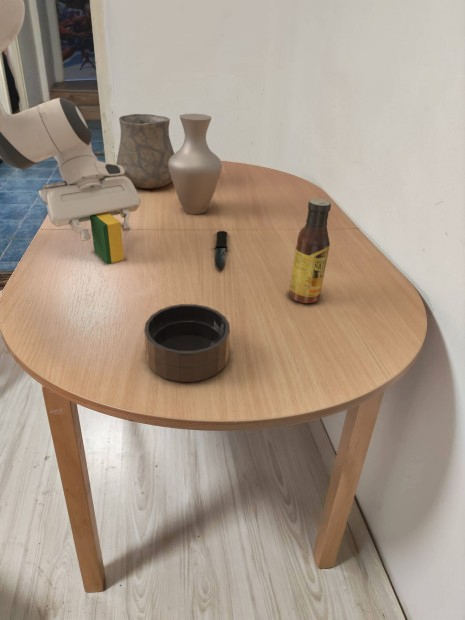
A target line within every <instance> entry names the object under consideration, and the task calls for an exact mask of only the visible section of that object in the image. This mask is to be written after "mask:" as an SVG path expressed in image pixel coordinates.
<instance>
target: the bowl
mask: <svg viewBox="0 0 465 620" xmlns="http://www.w3.org/2000/svg"><path fill="white" fill-rule="evenodd" d="M143 332H144V333H143V334H144V345H145V346H144V347H145V359H146V362H147V364H148V367H149V368H150V369H151V370H152V371H153V372H154V373H155V374H156V375H159V376H160V377H162V378H164V379H167V380H171V381H174V382H175V381H176V382H180V383H181V382H183V383H184V382H186V383H187V382H188V383H189V382H190V383H191V382H197V381H202V380H206V379H209V378H211V377H214V376H215V375H217V374H219V372H221V371H222V370H223V369H224V368H225V367H226V365H227V362H228V360H229V355H230V354H229V353H230V337H231V336H230V335H231V328H230V321H228V319H227V318H226V316H225V315H223V314H222V313H221V312H220V311H218V310H217V309H214V308H211V307H210V306H206V305H201V304H196V303H180V304H174V305H169V306H167V307H164V308H161V309H159V310H157V311H156V312H154V313H153V314H151V315H150V316H149V317H148V319H147V321H145V324H144V329H143Z"/></svg>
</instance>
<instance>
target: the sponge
mask: <svg viewBox="0 0 465 620" xmlns="http://www.w3.org/2000/svg"><path fill="white" fill-rule="evenodd" d="M89 221H90V226H91V227H90V228H91V236H92V243H93V251H94V253H95V254H96V255H97V256H98V257H99V258H100V259H101V260H102V261H103V262H105V264H107V265H109V264H113V263H118V262H121V261H125V255H124V254H125V253H124V244H123V231H122V228H121V223H122V222H121V221H120V220H118V219H117V217H114V216H112V215H111V214H109V213H108V212H106V213H101V214H96V215H91V216H90V220H89Z"/></svg>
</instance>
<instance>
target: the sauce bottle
mask: <svg viewBox="0 0 465 620" xmlns="http://www.w3.org/2000/svg"><path fill="white" fill-rule="evenodd" d="M331 207H332V203H331V201H330V200H328V199H324V198H316V197H315V198H311V199H309V200H308V203H307V209H308V211H307V217H306V220H305V221H306V222H305V224H304V225H303V227H302V228H301V229H300V231H299V232H298V234H297V241H296V246H295V251H294V257H293V263H292V264H293V265H292V271H291V277H290V283H289V296H290V298H291V299H292V300H293V301H295V302H296V303H297V302H298V303H301V304H313V303H316V302H317V301H318V300H319V298H320V295H321V293H322V288H323V283H324V278H325V272H326V267H327V262H328V257H329V252H330V247H331V246H330V245H331V242H330V237H329V231H328V217H329V213H330V211H331Z"/></svg>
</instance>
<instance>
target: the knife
mask: <svg viewBox="0 0 465 620" xmlns="http://www.w3.org/2000/svg"><path fill="white" fill-rule="evenodd" d="M227 236H228V232H227V231H225V230H220V231H219V230H218V231H217V232H216V242H215V243H216V244H215V246H214V250H215V251H214V253H215V254H214V264H215V267H216V268H217V269H218V270H219V271H220V272H222V271H223V267H224V266H225V265H226V251H227V250H228V246H227V241H228V240H227V239H228V237H227Z"/></svg>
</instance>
